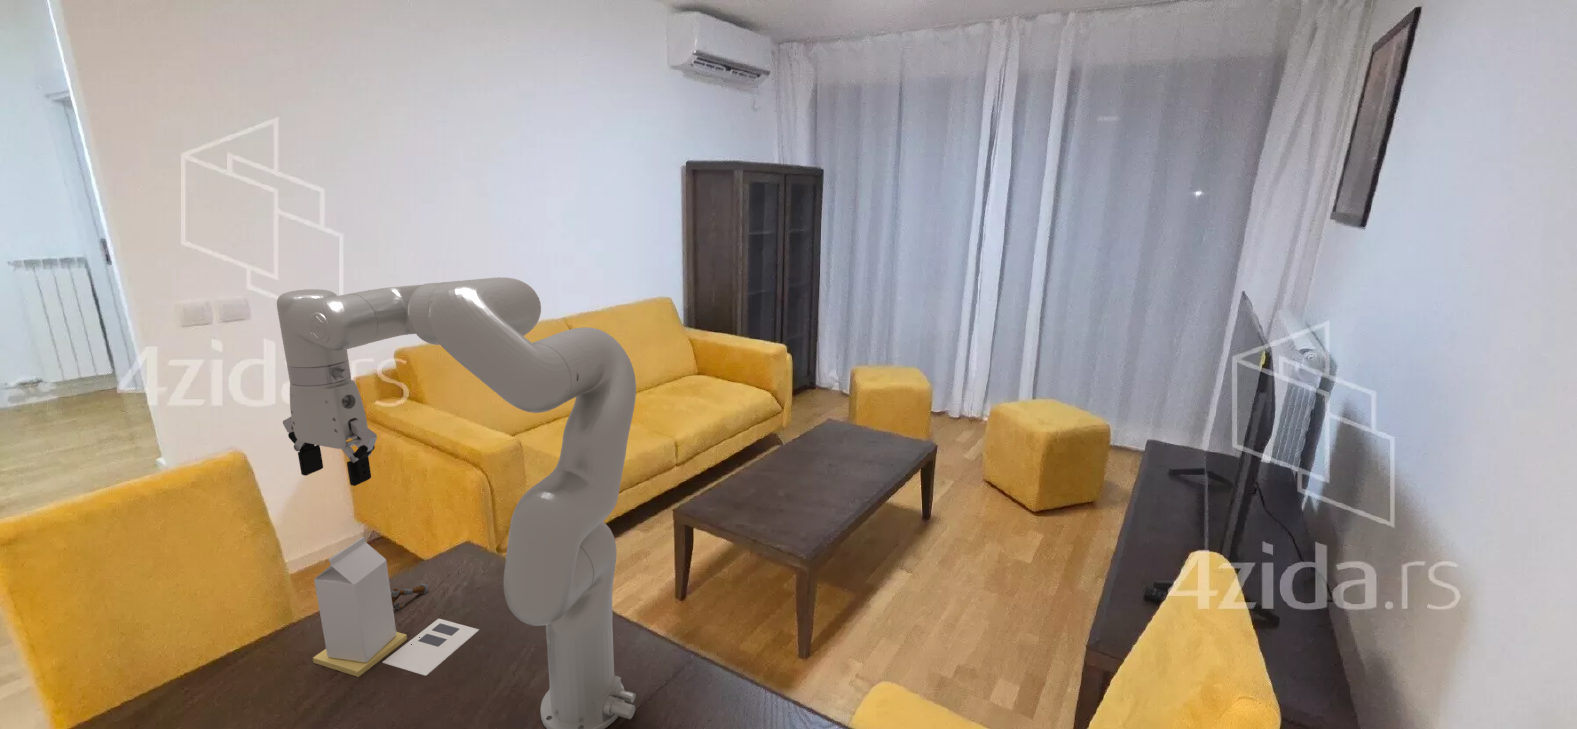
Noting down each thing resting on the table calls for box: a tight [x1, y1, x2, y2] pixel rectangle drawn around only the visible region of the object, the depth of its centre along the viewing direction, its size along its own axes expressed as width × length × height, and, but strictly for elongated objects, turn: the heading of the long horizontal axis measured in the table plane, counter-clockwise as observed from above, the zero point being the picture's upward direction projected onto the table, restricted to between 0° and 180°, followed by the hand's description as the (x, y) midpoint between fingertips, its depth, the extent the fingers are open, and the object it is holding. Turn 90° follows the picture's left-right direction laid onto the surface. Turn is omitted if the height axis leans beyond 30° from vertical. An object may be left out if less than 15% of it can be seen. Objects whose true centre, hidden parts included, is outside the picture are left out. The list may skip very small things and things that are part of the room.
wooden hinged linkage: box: [390, 582, 429, 611], centre depth 123 cm, size 2×8×4 cm, turn 160°
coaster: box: [312, 631, 408, 678], centre depth 111 cm, size 10×10×1 cm
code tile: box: [382, 618, 480, 677], centre depth 113 cm, size 9×12×1 cm
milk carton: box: [313, 536, 397, 663], centre depth 108 cm, size 7×7×19 cm
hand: (336, 477), depth 102 cm, fingers open, 9 cm apart
